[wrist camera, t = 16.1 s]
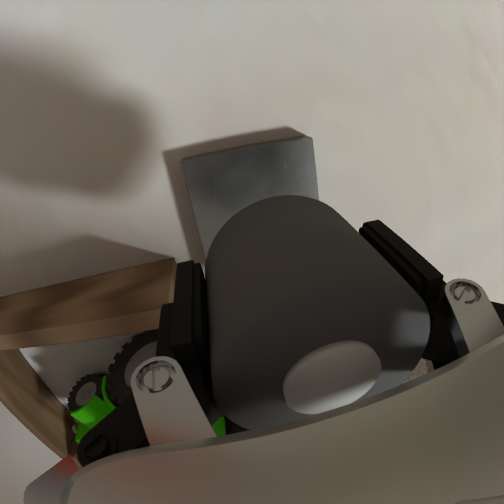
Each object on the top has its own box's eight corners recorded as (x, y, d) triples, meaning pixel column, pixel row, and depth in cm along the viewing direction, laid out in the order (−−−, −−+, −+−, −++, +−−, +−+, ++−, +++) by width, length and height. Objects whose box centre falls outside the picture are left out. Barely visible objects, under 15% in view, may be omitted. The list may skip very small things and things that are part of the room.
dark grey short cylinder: (353, 182, 10) (456, 256, 5) (353, 309, 13) (412, 405, 8) (186, 215, 10) (178, 328, 5) (224, 341, 13) (240, 457, 8)
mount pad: (306, 135, 17) (312, 137, 16) (317, 244, 20) (322, 251, 19) (182, 158, 16) (181, 162, 16) (210, 267, 20) (210, 275, 19)
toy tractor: (52, 366, 22) (23, 460, 14) (208, 300, 21) (218, 430, 12) (127, 428, 27) (121, 511, 19) (268, 385, 26) (293, 484, 18)
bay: (174, 258, 19) (167, 307, 15) (231, 412, 27) (237, 456, 23) (-20, 302, 18) (-47, 340, 14) (73, 425, 27) (66, 462, 22)
